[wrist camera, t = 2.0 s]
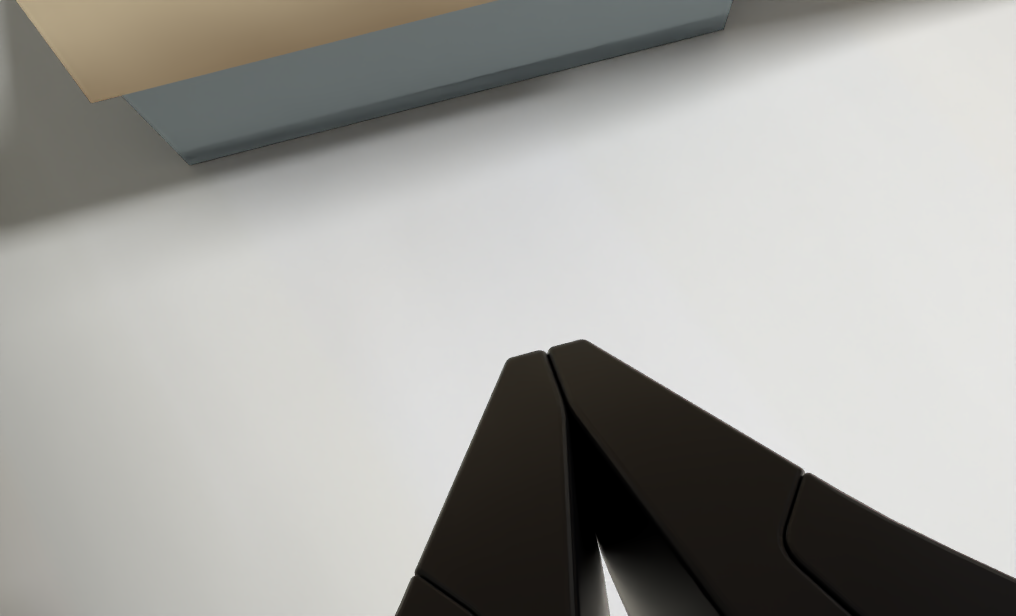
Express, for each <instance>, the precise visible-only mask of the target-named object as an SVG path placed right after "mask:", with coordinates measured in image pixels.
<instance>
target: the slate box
mask: <svg viewBox="0 0 1016 616" xmlns="http://www.w3.org/2000/svg"><path fill="white" fill-rule="evenodd" d="M732 1H733V0H497V1H493V2H489V3H485V4H481V5H477V6H473V7H469V8H465V9H461V10H457V11H453V12H449V13H445V14H441V15H438V16H434V17H430V18H426V19H422V20H418V21H414V22H410V23H406V24H402V25H398V26H394V27H390V28H386V29H382V30H378V31H374V32H370V33H367V34H363V35H359V36H355V37H351V38H347V39H343V40H339V41H335V42H331V43H327V44H323V45H319V46H315V47H311V48H307V49H303V50H299V51H296V52H292V53H288V54H284V55H280V56H276V57H272V58H268V59H264V60H260V61H256V62H252V63H248V64H244V65H240V66H236V67H232V68H228V69H224V70H221V71H217V72H213V73H209V74H205V75H201V76H197V77H193V78H189V79H185V80H181V81H177V82H173V83H169V84H165V85H161V86H157V87H153V88H150V89H146V90H142V91H138V92H134V93H130V94H126V95H122V97H123V98H124V99H125V100H126V101H127V102H128V103H129V104H130V105H131V106H132V107H133V108H134V109H135V110H136V111H137V112H138V113H139V114H140V115H141V116H142V117H143V118H144V119H145V120H146V121H147V122H148V123H149V124H150V125H151V126H152V127H153V128H154V129H155V130H156V131H157V132H158V133H159V135H160V136H161V137H162V138H163V139H164V140H165V141H166V142H167V143H168V144H169V145H170V146H171V147H172V148H173V149H174V150H175V151H176V152H177V153H178V154H179V155H180V156H181V157H182V158H183V159H184V160H185V161H186V162H187V163H188V164H189V165H192V164H196V163H200V162H203V161H207V160H211V159H215V158H219V157H223V156H227V155H231V154H235V153H239V152H243V151H247V150H251V149H255V148H258V147H262V146H266V145H270V144H274V143H278V142H282V141H286V140H290V139H294V138H298V137H302V136H306V135H310V134H313V133H317V132H321V131H325V130H329V129H333V128H337V127H341V126H345V125H349V124H353V123H357V122H361V121H365V120H368V119H372V118H376V117H380V116H384V115H388V114H392V113H396V112H400V111H404V110H408V109H412V108H416V107H420V106H423V105H427V104H431V103H435V102H439V101H443V100H447V99H451V98H455V97H459V96H463V95H467V94H471V93H475V92H478V91H482V90H486V89H490V88H494V87H498V86H502V85H506V84H510V83H514V82H518V81H522V80H526V79H530V78H533V77H537V76H541V75H545V74H549V73H553V72H557V71H561V70H565V69H569V68H573V67H577V66H581V65H585V64H588V63H592V62H596V61H600V60H604V59H608V58H612V57H616V56H620V55H624V54H628V53H632V52H636V51H640V50H643V49H647V48H651V47H655V46H659V45H663V44H667V43H671V42H675V41H679V40H683V39H687V38H691V37H695V36H698V35H702V34H706V33H710V32H714V31H718V30H722V29H724V26H725V23H726V20H727V17H728V14H729V11H730V8H731V5H732Z"/></svg>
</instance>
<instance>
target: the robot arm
mask: <svg viewBox="0 0 1016 616" xmlns="http://www.w3.org/2000/svg"><path fill="white" fill-rule="evenodd" d="M597 541H598V543H597ZM598 544H599V547H600V550H601V553H602V556H603V558H604V561H605V563H606V566H607V568H608V571H609V573H610V575H611V578H612V580H613V582H614V585H615V587H616V589H617V591H618V594H619V596H620V598H621V600H622V603H623V605H624V607H625V609H626V612H627V614H628V616H1016V578H1014V577H1011V576H1009V575H1007V574H1005V573H1003V572H1001V571H998V570H996V569H994V568H992V567H990V566H988V565H986V564H983V563H981V562H979V561H977V560H975V559H973V558H970V557H968V556H966V555H964V554H962V553H960V552H958V551H955V550H953V549H951V548H949V547H947V546H945V545H943V544H941V543H939V542H937V541H935V540H933V539H931V538H929V537H927V536H925V535H923V534H921V533H919V532H917V531H915V530H913V529H911V528H909V527H906V526H904V525H902V524H900V523H898V522H896V521H894V520H892V519H890V518H889V517H887V516H885V515H883V514H881V513H880V512H878V511H876V510H874V509H872V508H871V507H869V506H867V505H865V504H863V503H862V502H860V501H858V500H856V499H854V498H853V497H851V496H849V495H847V494H845V493H844V492H842V491H840V490H838V489H837V488H835V487H833V486H832V485H830V484H828V483H827V482H825V481H823V480H822V479H820V478H818V477H816V476H815V475H813V474H811V473H805V472H804V470H803V469H802V468H801V467H799V466H797V465H796V464H794V463H792V462H791V461H789V460H787V459H786V458H784V457H782V456H781V455H779V454H777V453H775V452H774V451H772V450H770V449H769V448H767V447H765V446H764V445H762V444H760V443H759V442H757V441H755V440H754V439H752V438H750V437H749V436H747V435H745V434H744V433H742V432H740V431H738V430H737V429H735V428H733V427H732V426H730V425H728V424H727V423H725V422H723V421H722V420H720V419H718V418H717V417H715V416H713V415H712V414H710V413H708V412H707V411H705V410H703V409H702V408H700V407H698V406H696V405H695V404H693V403H691V402H690V401H688V400H686V399H685V398H683V397H681V396H680V395H678V394H676V393H675V392H673V391H671V390H670V389H668V388H666V387H665V386H663V385H661V384H659V383H658V382H656V381H654V380H653V379H651V378H649V377H648V376H646V375H644V374H643V373H641V372H639V371H638V370H636V369H634V368H633V367H631V366H629V365H628V364H626V363H624V362H622V361H621V360H619V359H617V358H616V357H614V356H612V355H611V354H609V353H607V352H606V351H604V350H602V349H601V348H599V347H597V346H596V345H594V344H592V343H591V342H589V341H587V340H583V339H582V340H576V341H573V342H569V343H565V344H561V345H557V346H554V347H551V348H550V349H549V350H548V353H545V352H544V351H541V350H538V351H534V352H531V353H527V354H523V355H519V356H515V357H511V358H509V359H508V360H507V361H506V363H505V365H504V367H503V370H502V372H501V374H500V376H499V379H498V381H497V383H496V386H495V388H494V390H493V393H492V395H491V397H490V399H489V402H488V404H487V406H486V409H485V411H484V413H483V416H482V418H481V420H480V422H479V425H478V427H477V429H476V432H475V434H474V436H473V439H472V441H471V443H470V445H469V448H468V450H467V452H466V455H465V457H464V459H463V462H462V464H461V466H460V468H459V471H458V473H457V475H456V478H455V480H454V482H453V485H452V487H451V489H450V491H449V494H448V496H447V498H446V501H445V503H444V505H443V508H442V510H441V512H440V514H439V517H438V519H437V521H436V524H435V526H434V528H433V531H432V533H431V535H430V537H429V540H428V542H427V544H426V547H425V549H424V551H423V553H422V556H421V558H420V560H419V563H418V565H417V567H416V570H415V576H413V577H412V578H411V580H410V582H409V585H408V587H407V589H406V592H405V594H404V596H403V599H402V601H401V603H400V606H399V608H398V610H397V612H396V614H395V616H610V612H609V605H608V598H607V592H606V585H605V579H604V573H603V567H602V562H601V556H600V551H599V547H598Z"/></svg>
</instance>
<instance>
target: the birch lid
mask: <svg viewBox="0 0 1016 616" xmlns="http://www.w3.org/2000/svg"><path fill="white" fill-rule="evenodd" d="M16 1H17V3H18V4H19V5H20V7H21V8H22V9H23V11H24V12H25V13H26V15H27V16H28V18H29V19H30V20H31V22H32V23H33V24H34V26H35V27H36V29H37V30H38V31H39V33H40V34H41V35H42V37H43V38H44V39H45V41H46V42H47V44H48V45H49V46H50V48H51V49H52V50H53V52H54V53H55V54H56V56H57V57H58V59H59V60H60V61H61V63H62V64H63V65H64V67H65V68H66V70H67V71H68V72H69V74H70V75H71V76H72V78H73V79H74V80H75V82H76V83H77V85H78V86H79V87H80V89H81V90H82V91H83V93H84V94H85V96H86V97H87V98H88V100H89V101H90V102H91V103H94V102H98V101H102V100H106V99H110V98H114V97H118V96H122V95H126V94H130V93H134V92H138V91H142V90H146V89H150V88H153V87H157V86H161V85H165V84H169V83H173V82H177V81H181V80H185V79H189V78H193V77H197V76H201V75H205V74H209V73H213V72H217V71H221V70H224V69H228V68H232V67H236V66H240V65H244V64H248V63H252V62H256V61H260V60H264V59H268V58H272V57H276V56H280V55H284V54H288V53H292V52H296V51H299V50H303V49H307V48H311V47H315V46H319V45H323V44H327V43H331V42H335V41H339V40H343V39H347V38H351V37H355V36H359V35H363V34H367V33H370V32H374V31H378V30H382V29H386V28H390V27H394V26H398V25H402V24H406V23H410V22H414V21H418V20H422V19H426V18H430V17H434V16H438V15H441V14H445V13H449V12H453V11H457V10H461V9H465V8H469V7H473V6H477V5H481V4H485V3H489V2H493V1H497V0H16Z"/></svg>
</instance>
